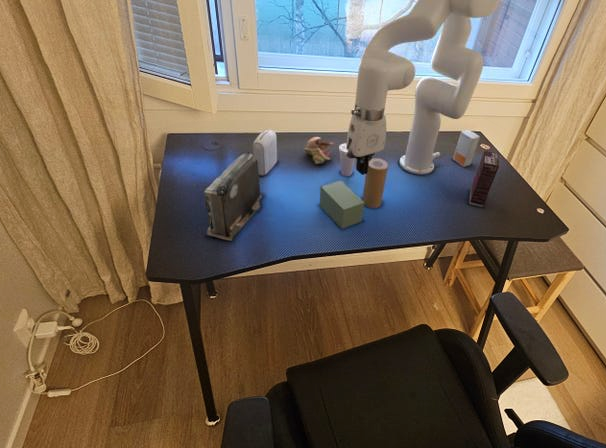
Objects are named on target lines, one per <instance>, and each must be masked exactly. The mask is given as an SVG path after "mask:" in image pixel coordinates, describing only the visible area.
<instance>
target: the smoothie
mask: <svg viewBox="0 0 606 448" xmlns="http://www.w3.org/2000/svg"><path fill="white" fill-rule="evenodd" d="M346 144H347V142H343V143H341V144H339V146H338V152H339V161H340V164H339V165H340V174H341V175H342V176H344V177H350V176H352V174H353V171H354V167H355V163H356V161H357V159H356V158H351V159H350V158H349V157H347V152H348V149H347V147H346Z"/></svg>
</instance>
